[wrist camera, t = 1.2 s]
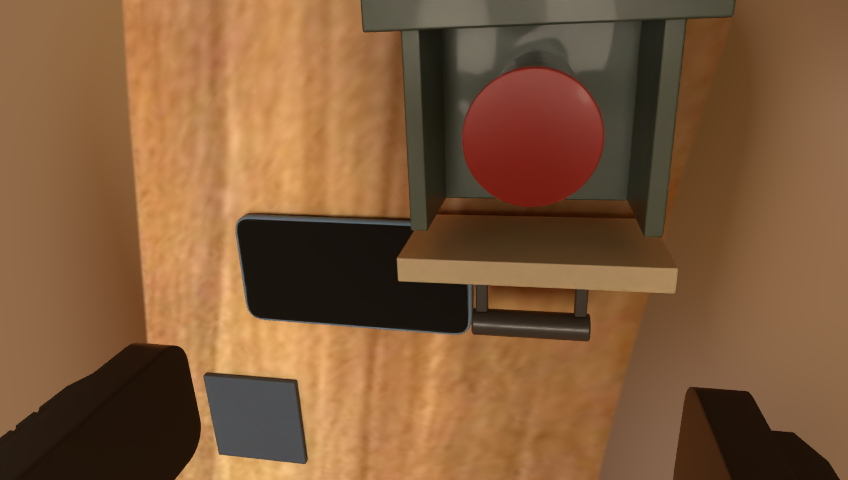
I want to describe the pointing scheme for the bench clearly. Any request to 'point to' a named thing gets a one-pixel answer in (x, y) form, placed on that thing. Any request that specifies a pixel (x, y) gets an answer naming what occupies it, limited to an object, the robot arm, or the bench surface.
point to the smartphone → (342, 275)
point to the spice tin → (533, 132)
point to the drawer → (565, 236)
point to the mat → (256, 417)
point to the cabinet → (528, 12)
